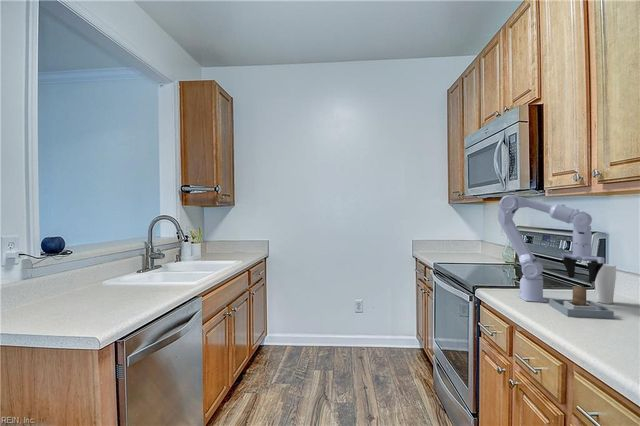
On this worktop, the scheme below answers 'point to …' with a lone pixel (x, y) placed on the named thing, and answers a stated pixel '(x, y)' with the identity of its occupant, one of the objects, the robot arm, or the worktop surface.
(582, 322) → the worktop surface
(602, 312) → the candle dish
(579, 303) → the walnut peg
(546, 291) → the worktop surface
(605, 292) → the drinking glass
